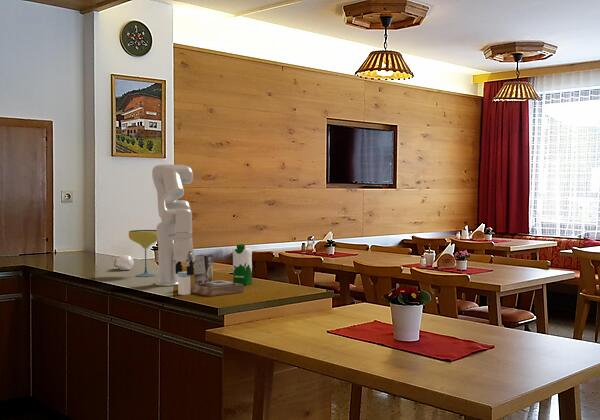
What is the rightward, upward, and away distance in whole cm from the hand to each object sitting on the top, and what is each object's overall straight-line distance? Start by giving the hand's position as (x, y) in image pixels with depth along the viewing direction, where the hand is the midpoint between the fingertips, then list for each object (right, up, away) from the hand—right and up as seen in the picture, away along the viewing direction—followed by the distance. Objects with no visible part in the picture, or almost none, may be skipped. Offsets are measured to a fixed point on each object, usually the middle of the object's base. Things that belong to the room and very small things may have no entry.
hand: (184, 274), depth 303 cm
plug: (0, -9, +1) cm, 9 cm away
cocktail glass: (-33, -8, +69) cm, 77 cm away
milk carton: (+24, -8, +31) cm, 40 cm away
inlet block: (+15, -9, +6) cm, 19 cm away
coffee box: (+6, -9, +20) cm, 22 cm away
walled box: (+14, -9, +6) cm, 18 cm away
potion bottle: (-53, -7, +98) cm, 112 cm away
